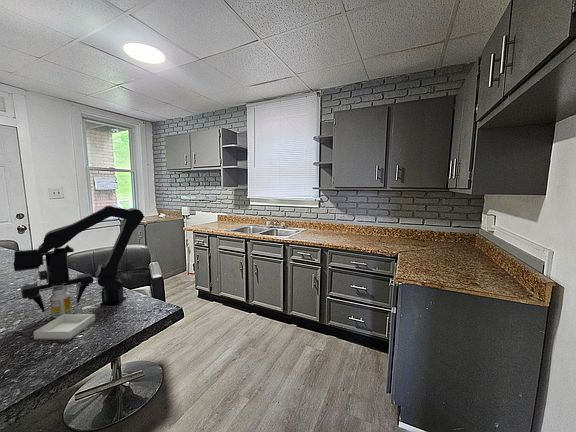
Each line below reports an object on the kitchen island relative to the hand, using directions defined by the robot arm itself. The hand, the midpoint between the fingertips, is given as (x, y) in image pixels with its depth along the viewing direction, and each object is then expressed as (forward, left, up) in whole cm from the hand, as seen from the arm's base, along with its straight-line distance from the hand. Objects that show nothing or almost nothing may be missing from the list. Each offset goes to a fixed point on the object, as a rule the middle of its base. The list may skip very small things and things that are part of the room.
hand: (61, 307), depth 91 cm
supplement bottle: (0, 0, -3) cm, 3 cm away
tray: (-10, +10, -3) cm, 14 cm away
